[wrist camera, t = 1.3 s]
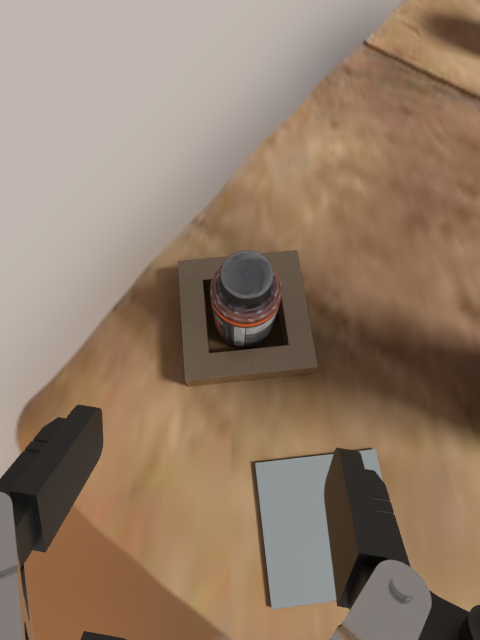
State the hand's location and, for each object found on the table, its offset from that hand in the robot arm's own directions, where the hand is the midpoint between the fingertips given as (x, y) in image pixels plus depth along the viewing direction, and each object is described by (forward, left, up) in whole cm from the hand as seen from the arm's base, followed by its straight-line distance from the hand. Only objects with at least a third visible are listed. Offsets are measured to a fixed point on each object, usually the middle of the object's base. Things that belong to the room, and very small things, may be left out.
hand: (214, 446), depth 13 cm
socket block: (-3, -12, -23) cm, 26 cm away
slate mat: (-8, +7, -23) cm, 25 cm away
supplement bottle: (-3, -12, -23) cm, 26 cm away
